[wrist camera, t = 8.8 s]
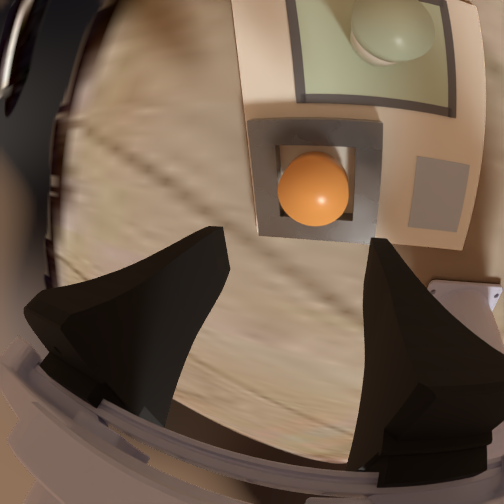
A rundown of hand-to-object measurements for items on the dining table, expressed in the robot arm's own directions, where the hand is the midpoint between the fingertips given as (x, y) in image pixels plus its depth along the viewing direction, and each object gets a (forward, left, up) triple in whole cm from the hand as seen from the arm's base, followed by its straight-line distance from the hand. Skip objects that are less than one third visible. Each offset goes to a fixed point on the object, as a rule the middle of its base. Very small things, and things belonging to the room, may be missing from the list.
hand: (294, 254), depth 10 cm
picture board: (+4, -3, -9) cm, 11 cm away
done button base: (0, 0, -9) cm, 9 cm away
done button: (0, 0, -8) cm, 8 cm away
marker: (+9, -4, -9) cm, 13 cm away
